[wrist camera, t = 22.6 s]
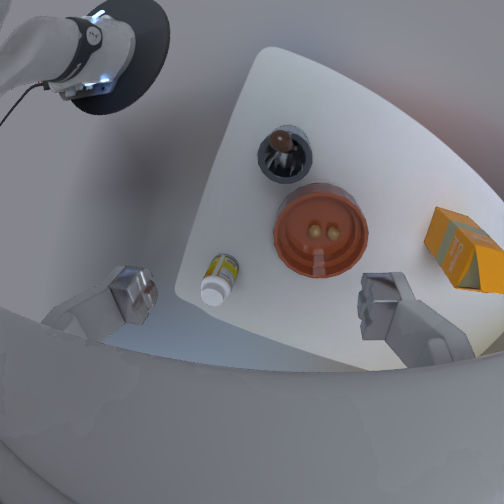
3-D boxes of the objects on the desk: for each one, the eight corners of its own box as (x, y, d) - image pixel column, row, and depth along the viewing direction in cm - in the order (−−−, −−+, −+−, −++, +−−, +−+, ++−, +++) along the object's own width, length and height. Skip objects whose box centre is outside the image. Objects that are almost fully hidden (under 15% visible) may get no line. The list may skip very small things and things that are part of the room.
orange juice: (455, 249, 43) (501, 315, 26) (423, 242, 44) (467, 312, 27) (468, 215, 39) (525, 273, 22) (436, 205, 40) (493, 265, 23)
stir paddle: (280, 154, 41) (261, 150, 20) (280, 143, 40) (261, 128, 20) (298, 154, 40) (297, 150, 20) (298, 143, 40) (297, 128, 19)
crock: (269, 163, 42) (259, 184, 32) (267, 125, 39) (255, 132, 29) (309, 163, 41) (312, 183, 31) (308, 124, 38) (311, 131, 28)
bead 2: (322, 237, 46) (325, 230, 44) (330, 228, 47) (333, 221, 45) (333, 245, 45) (337, 238, 43) (341, 236, 46) (344, 229, 44)
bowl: (277, 260, 52) (275, 277, 47) (274, 182, 44) (271, 192, 39) (356, 261, 49) (361, 278, 44) (364, 183, 41) (372, 194, 37)
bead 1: (310, 239, 44) (313, 242, 46) (323, 231, 43) (325, 235, 46) (304, 227, 45) (307, 231, 47) (316, 220, 44) (319, 224, 47)
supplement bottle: (212, 274, 56) (196, 306, 47) (212, 251, 53) (194, 282, 44) (239, 278, 55) (227, 312, 47) (240, 255, 52) (227, 287, 44)
